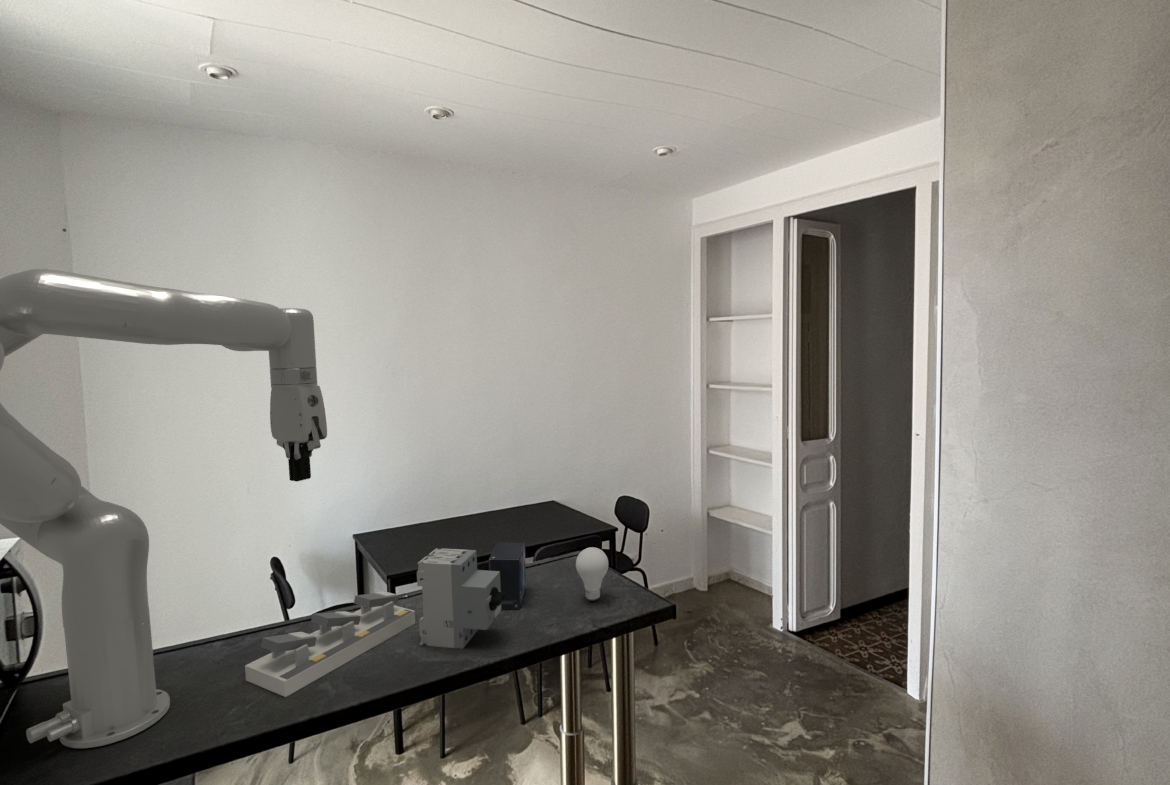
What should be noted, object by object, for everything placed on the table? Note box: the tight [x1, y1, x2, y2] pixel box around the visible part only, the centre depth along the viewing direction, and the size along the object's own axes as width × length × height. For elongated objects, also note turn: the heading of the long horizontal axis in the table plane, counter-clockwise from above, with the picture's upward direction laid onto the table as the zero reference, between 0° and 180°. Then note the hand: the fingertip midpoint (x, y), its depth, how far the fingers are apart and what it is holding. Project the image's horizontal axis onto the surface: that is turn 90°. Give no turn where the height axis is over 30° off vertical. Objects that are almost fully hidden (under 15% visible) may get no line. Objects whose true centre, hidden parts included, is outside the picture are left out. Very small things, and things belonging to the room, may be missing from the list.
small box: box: [488, 541, 527, 610], centre depth 126 cm, size 11×6×10 cm, turn 179°
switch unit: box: [244, 601, 416, 698], centre depth 106 cm, size 27×10×5 cm, turn 151°
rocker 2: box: [310, 610, 361, 627], centre depth 106 cm, size 7×4×2 cm, turn 151°
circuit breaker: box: [416, 547, 506, 650], centre depth 109 cm, size 8×14×15 cm, turn 78°
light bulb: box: [575, 546, 609, 602], centre depth 124 cm, size 7×7×11 cm
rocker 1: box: [260, 631, 317, 653], centre depth 98 cm, size 7×4×2 cm, turn 151°
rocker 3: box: [353, 591, 400, 608], centre depth 114 cm, size 7×4×2 cm, turn 151°
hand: (300, 479), depth 110 cm, fingers closed
